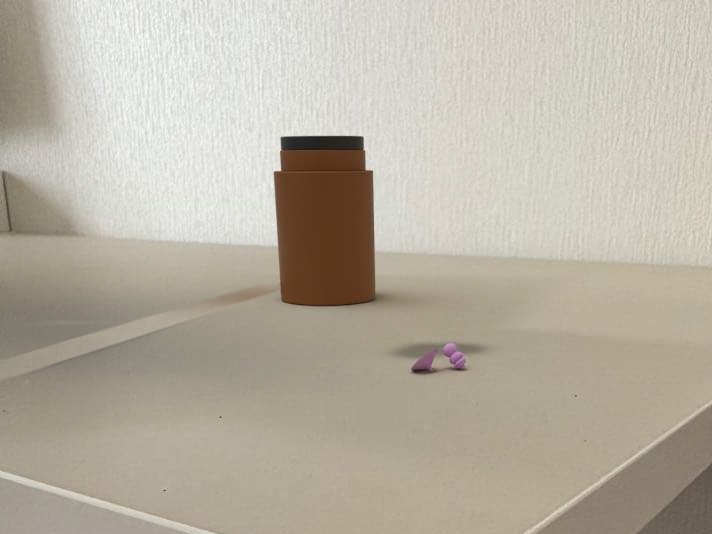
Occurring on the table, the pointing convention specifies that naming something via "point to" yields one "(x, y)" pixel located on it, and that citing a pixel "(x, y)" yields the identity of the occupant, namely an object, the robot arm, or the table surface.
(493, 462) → the table surface
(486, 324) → the table surface
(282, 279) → the amber bottle
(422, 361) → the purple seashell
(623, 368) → the table surface
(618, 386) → the table surface
